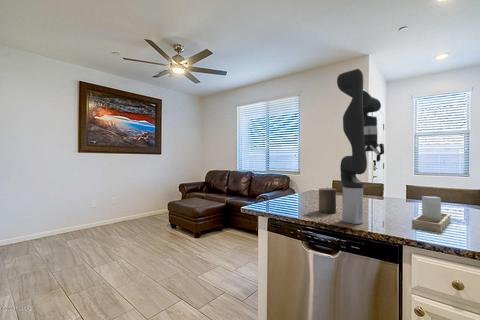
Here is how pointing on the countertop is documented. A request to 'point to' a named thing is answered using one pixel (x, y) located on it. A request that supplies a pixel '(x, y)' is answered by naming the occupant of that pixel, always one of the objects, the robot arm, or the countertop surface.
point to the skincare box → (431, 207)
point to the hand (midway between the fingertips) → (369, 161)
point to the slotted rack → (431, 223)
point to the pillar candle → (327, 200)
